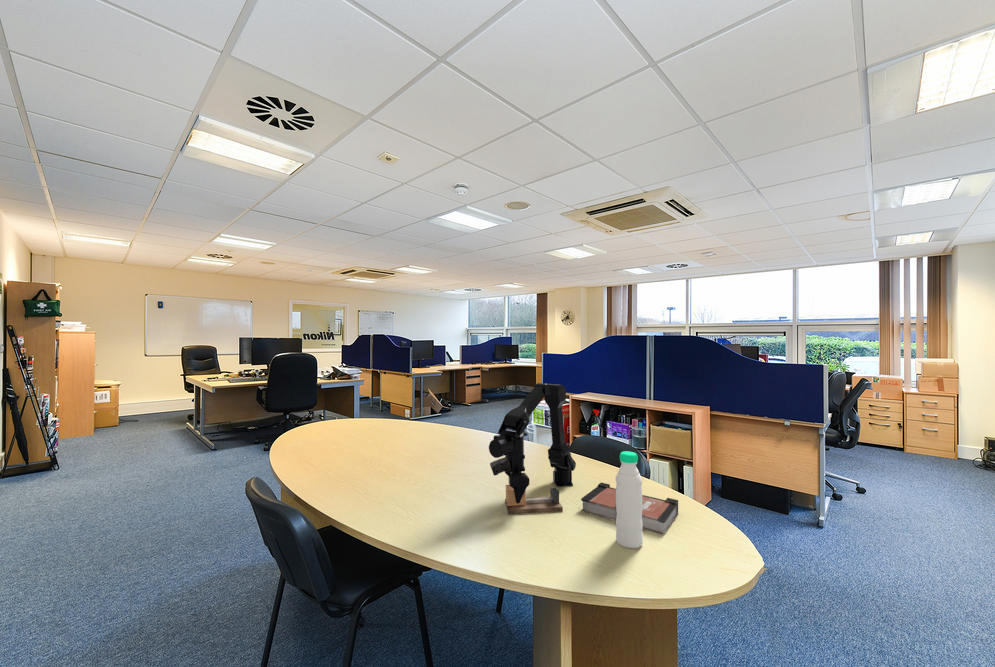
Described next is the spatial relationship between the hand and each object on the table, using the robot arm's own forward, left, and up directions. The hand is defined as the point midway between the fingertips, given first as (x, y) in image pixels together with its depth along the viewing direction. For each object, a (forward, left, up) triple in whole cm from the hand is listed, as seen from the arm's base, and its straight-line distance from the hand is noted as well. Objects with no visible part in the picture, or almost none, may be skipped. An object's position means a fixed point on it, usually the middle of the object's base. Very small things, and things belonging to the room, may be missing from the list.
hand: (515, 497), depth 132 cm
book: (-36, +8, -4) cm, 37 cm away
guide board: (-6, 0, -4) cm, 7 cm away
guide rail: (-6, 0, -2) cm, 6 cm away
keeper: (0, 0, -2) cm, 2 cm away
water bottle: (-28, +26, -4) cm, 38 cm away
